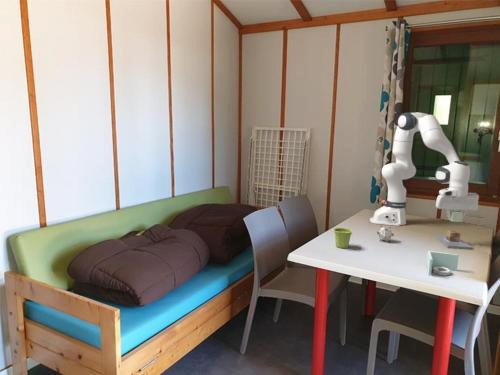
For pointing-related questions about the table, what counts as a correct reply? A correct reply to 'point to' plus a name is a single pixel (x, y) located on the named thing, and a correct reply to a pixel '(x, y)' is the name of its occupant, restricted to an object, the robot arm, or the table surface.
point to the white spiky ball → (385, 233)
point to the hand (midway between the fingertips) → (455, 217)
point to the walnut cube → (453, 236)
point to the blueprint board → (453, 243)
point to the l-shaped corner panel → (441, 262)
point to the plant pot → (342, 237)
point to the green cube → (456, 216)
